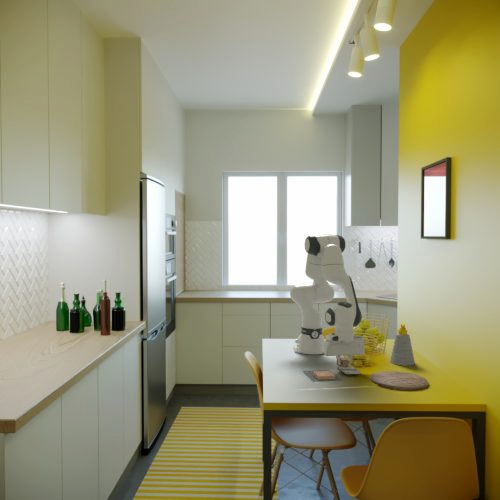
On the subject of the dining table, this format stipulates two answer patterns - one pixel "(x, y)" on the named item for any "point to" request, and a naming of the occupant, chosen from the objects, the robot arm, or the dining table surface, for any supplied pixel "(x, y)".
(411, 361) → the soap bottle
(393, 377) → the trivet
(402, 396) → the dining table surface
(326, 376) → the tile
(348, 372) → the turner
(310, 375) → the mat
